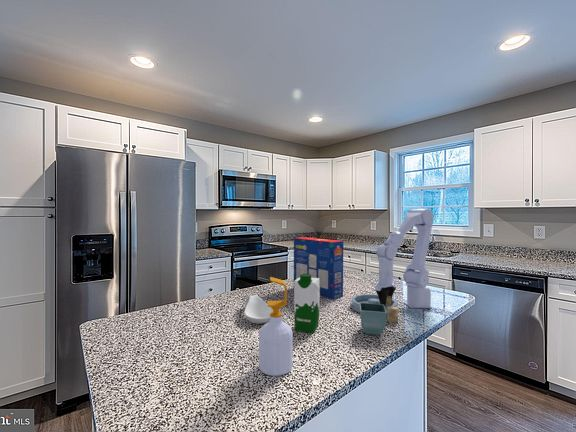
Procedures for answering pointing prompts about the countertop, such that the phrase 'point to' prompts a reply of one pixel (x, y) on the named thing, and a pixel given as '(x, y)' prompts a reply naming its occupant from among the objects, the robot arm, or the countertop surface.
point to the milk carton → (306, 303)
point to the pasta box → (320, 264)
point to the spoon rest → (257, 310)
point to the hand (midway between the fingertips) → (385, 304)
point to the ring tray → (368, 301)
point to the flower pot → (373, 318)
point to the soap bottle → (276, 340)
